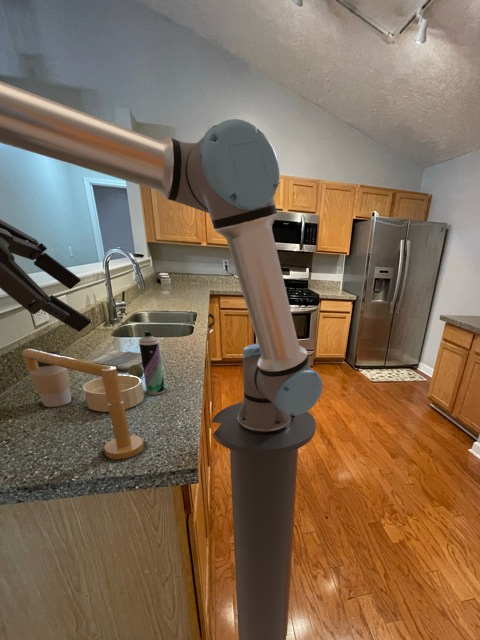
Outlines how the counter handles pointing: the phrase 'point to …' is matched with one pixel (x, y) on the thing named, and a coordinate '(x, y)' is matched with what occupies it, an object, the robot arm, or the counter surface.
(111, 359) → the dish towel
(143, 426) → the counter surface
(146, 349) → the spray can
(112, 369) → the faucet spout
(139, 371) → the lime
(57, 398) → the coffee cup
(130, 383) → the cream bowl
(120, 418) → the base
